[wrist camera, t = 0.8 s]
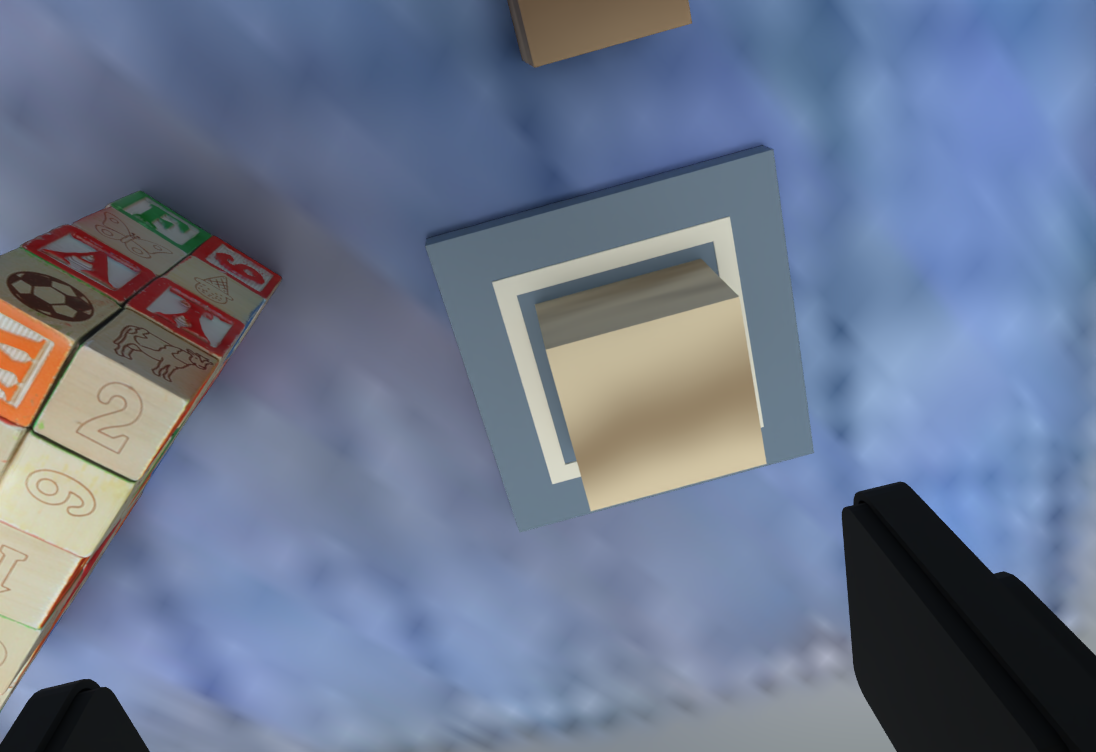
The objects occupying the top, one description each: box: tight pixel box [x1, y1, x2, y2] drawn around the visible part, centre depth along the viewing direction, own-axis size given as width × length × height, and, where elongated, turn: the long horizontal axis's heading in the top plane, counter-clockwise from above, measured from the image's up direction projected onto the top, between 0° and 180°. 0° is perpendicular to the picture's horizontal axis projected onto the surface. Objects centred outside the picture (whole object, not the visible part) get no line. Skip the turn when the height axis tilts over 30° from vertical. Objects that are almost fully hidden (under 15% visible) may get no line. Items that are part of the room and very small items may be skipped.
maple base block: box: [535, 259, 767, 511], centre depth 32 cm, size 7×7×5 cm
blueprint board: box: [425, 145, 814, 532], centre depth 34 cm, size 14×14×1 cm
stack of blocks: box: [0, 191, 282, 712], centre depth 29 cm, size 21×6×12 cm, turn 143°
